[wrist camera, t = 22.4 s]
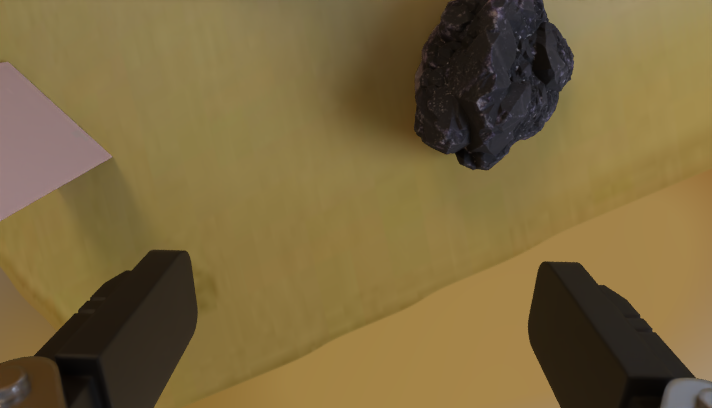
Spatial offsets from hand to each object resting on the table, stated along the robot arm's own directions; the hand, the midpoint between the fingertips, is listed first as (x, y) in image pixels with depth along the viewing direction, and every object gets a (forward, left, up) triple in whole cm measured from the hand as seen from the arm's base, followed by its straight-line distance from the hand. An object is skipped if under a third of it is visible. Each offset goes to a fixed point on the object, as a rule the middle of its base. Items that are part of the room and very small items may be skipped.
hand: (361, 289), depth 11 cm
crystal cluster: (-10, -1, -32) cm, 34 cm away
